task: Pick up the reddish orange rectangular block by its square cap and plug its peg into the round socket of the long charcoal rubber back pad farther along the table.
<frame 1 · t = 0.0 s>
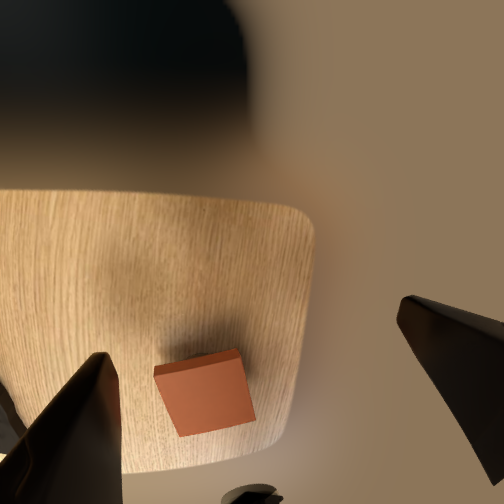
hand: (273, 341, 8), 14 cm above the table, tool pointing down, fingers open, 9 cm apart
reddish orange rectangular block: (202, 373, 22), on the table
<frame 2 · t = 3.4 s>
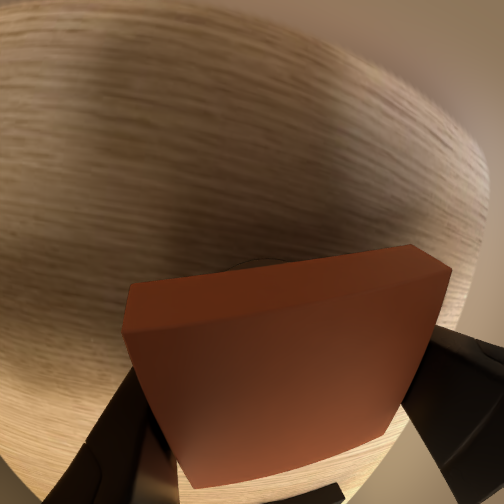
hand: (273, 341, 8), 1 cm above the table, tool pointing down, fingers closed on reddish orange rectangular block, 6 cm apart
reddish orange rectangular block: (258, 314, 9), on the table, touching gripper
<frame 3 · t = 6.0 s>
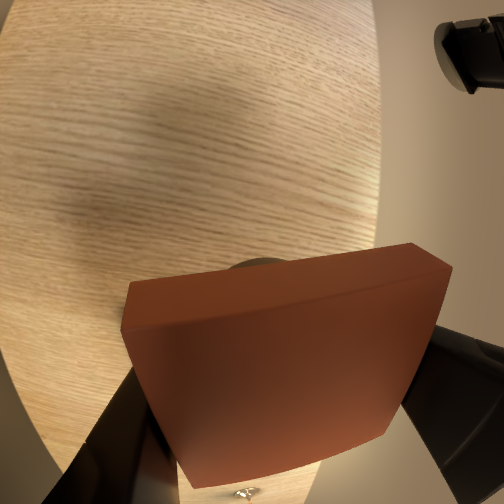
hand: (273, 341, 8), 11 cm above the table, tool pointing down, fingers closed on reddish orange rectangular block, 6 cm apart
wineglass: (246, 491, 37), on the table
reddish orange rectangular block: (258, 313, 9), point 10 cm above the table, touching gripper
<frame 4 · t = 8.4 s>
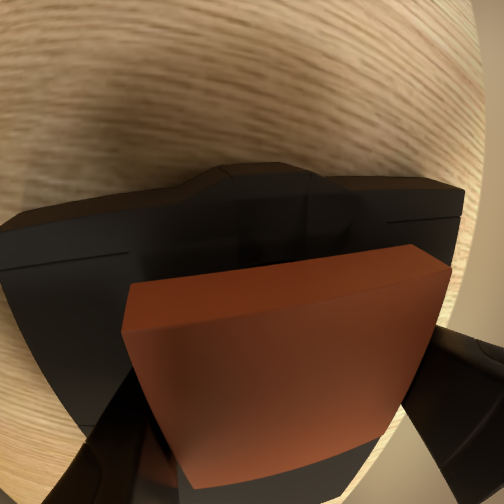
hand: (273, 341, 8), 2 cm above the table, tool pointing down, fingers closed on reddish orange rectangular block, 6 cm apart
reddish orange rectangular block: (258, 314, 9), point 1 cm above the table, touching gripper
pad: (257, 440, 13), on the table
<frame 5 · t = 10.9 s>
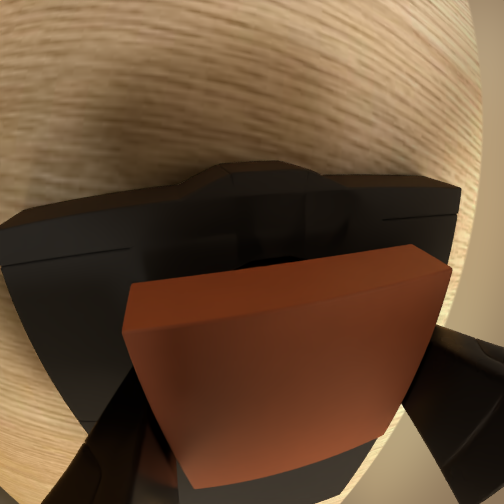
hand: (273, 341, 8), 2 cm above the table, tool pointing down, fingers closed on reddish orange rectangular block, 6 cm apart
reddish orange rectangular block: (259, 314, 9), point 1 cm above the table, touching gripper
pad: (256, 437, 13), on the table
when the fingers open (2 cm above the table, at t = 12.8 s): reddish orange rectangular block drops 1 cm, resting in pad.
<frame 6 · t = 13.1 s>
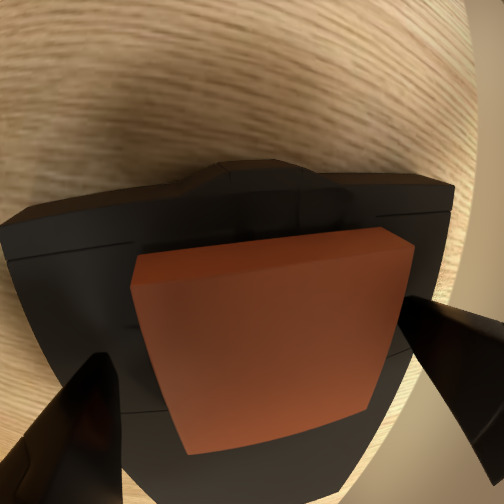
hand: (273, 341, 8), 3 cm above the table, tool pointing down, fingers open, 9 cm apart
reddish orange rectangular block: (249, 294, 10), resting in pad
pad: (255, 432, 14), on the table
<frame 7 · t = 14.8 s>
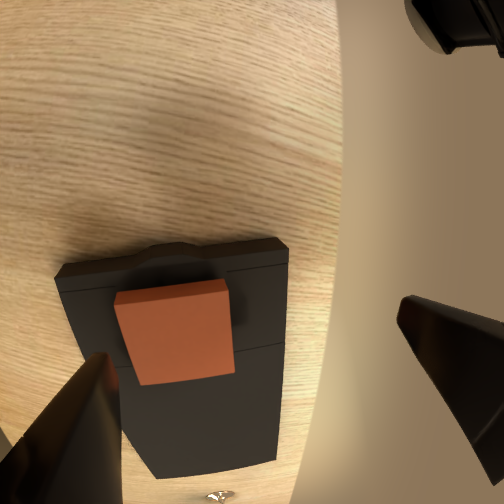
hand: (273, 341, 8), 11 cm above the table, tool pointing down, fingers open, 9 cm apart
wineglass: (220, 494, 33), on the table
reddish orange rectangular block: (175, 306, 19), resting in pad
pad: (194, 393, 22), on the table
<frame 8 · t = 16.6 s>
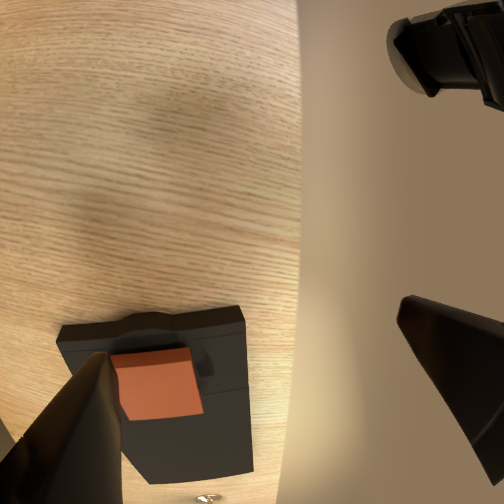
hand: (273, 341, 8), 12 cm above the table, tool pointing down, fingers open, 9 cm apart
wineglass: (208, 497, 36), on the table
reddish orange rectangular block: (155, 357, 22), resting in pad
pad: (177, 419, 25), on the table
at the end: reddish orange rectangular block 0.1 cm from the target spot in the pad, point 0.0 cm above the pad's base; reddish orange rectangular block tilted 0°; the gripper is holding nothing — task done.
